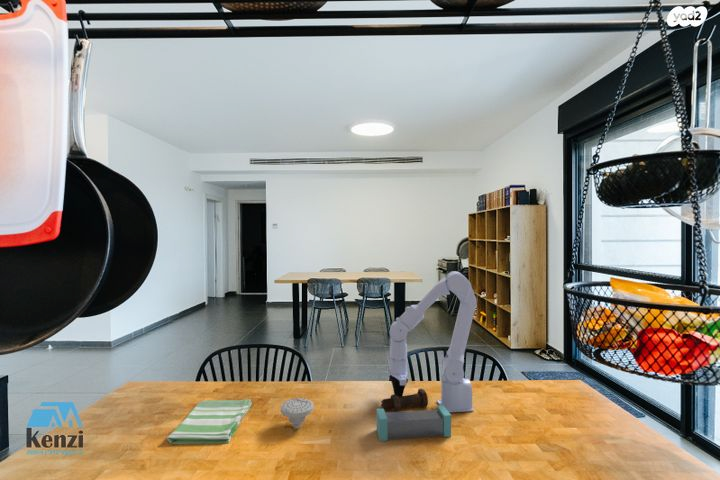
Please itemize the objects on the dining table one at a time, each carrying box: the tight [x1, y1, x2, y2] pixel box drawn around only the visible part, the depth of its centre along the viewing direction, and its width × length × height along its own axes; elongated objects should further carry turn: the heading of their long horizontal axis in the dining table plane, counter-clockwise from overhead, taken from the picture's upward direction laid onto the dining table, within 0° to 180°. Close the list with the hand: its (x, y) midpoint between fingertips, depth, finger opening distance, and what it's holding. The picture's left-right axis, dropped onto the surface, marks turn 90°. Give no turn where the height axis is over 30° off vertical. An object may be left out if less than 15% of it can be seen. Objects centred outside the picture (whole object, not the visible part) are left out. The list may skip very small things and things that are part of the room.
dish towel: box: [166, 398, 253, 445], centre depth 107 cm, size 18×23×3 cm
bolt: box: [380, 388, 429, 412], centre depth 116 cm, size 6×5×15 cm
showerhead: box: [280, 397, 314, 429], centre depth 104 cm, size 9×7×10 cm
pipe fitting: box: [376, 404, 452, 442], centre depth 101 cm, size 20×6×6 cm, turn 97°
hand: (398, 398), depth 120 cm, fingers closed
